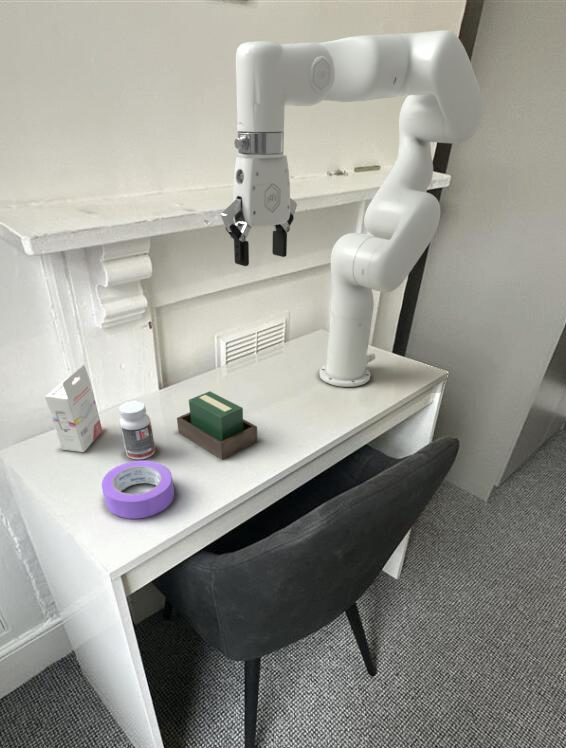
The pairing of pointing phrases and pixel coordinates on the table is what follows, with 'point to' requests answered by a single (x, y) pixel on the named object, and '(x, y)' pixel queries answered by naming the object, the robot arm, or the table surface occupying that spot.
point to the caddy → (215, 445)
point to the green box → (216, 416)
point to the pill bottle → (136, 430)
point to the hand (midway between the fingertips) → (261, 260)
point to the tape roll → (141, 502)
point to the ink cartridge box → (75, 412)
